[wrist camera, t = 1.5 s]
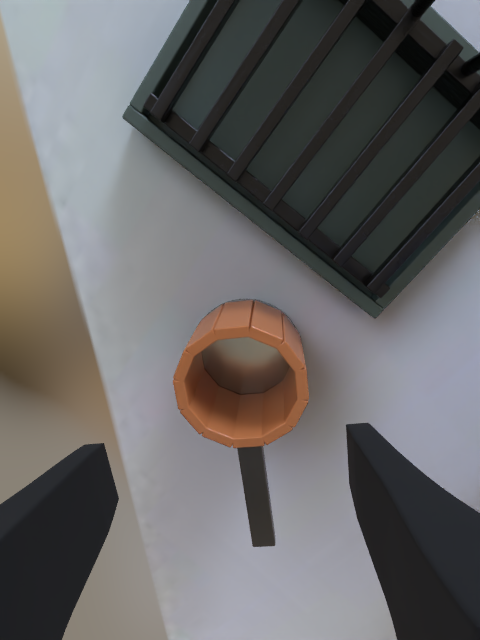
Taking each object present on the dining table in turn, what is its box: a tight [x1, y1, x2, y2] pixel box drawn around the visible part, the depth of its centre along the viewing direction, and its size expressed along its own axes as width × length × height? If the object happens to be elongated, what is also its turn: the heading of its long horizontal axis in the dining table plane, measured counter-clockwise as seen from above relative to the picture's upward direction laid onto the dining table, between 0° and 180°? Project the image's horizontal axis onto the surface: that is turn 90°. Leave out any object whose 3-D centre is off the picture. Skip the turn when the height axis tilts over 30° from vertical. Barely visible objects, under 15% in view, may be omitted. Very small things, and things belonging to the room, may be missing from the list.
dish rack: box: [122, 0, 480, 318], centre depth 15 cm, size 14×10×5 cm
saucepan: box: [173, 299, 309, 547], centre depth 20 cm, size 11×6×4 cm, turn 8°
